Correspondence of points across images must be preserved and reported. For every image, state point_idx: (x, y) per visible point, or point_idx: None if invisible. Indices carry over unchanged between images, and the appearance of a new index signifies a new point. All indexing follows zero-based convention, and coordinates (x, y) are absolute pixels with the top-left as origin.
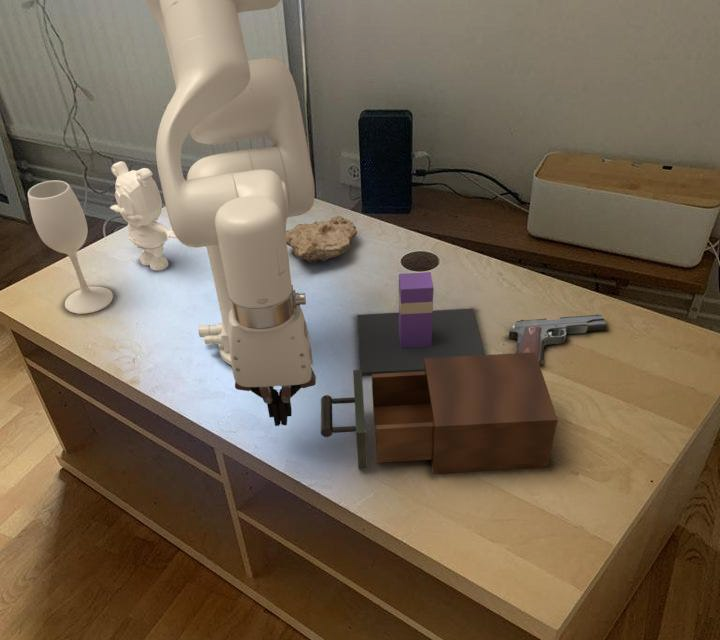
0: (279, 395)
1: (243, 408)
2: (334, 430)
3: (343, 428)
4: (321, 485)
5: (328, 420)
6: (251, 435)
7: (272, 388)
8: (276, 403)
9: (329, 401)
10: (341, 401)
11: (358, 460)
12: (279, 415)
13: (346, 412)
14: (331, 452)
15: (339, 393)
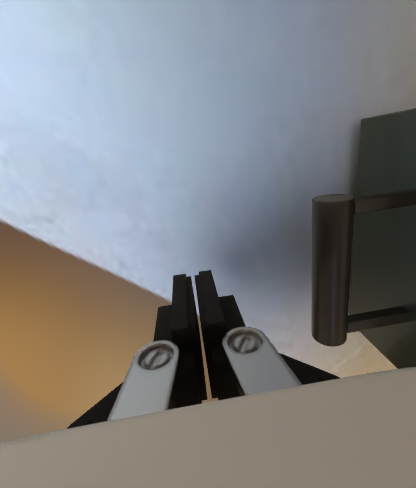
0: (218, 393)
1: (33, 119)
2: (351, 331)
3: (376, 324)
4: (274, 343)
5: (344, 316)
6: (97, 228)
7: (179, 380)
8: (204, 398)
9: (350, 229)
10: (381, 209)
11: (366, 337)
12: (199, 336)
13: (326, 126)
14: (290, 264)
15: (309, 34)
